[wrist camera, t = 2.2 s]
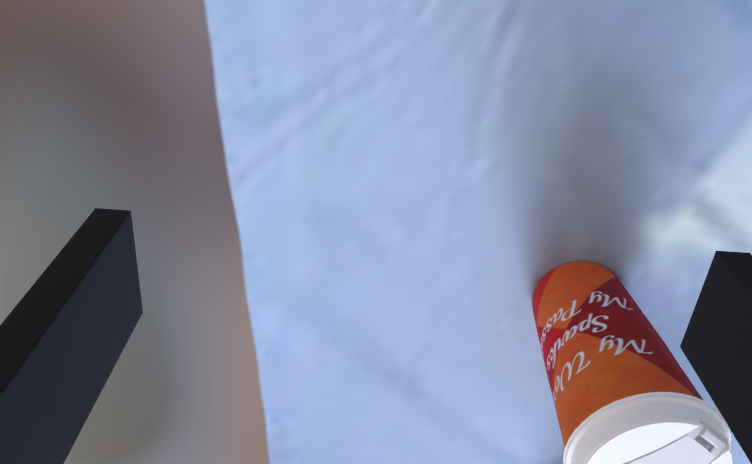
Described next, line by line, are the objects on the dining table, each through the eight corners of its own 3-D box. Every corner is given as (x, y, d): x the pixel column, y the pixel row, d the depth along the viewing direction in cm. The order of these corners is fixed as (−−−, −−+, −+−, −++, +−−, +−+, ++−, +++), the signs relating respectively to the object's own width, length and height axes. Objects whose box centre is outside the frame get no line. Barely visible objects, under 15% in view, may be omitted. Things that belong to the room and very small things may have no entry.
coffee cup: (582, 222, 42) (672, 385, 29) (662, 292, 45) (779, 470, 32) (488, 304, 46) (532, 484, 33) (568, 365, 48) (639, 554, 35)
